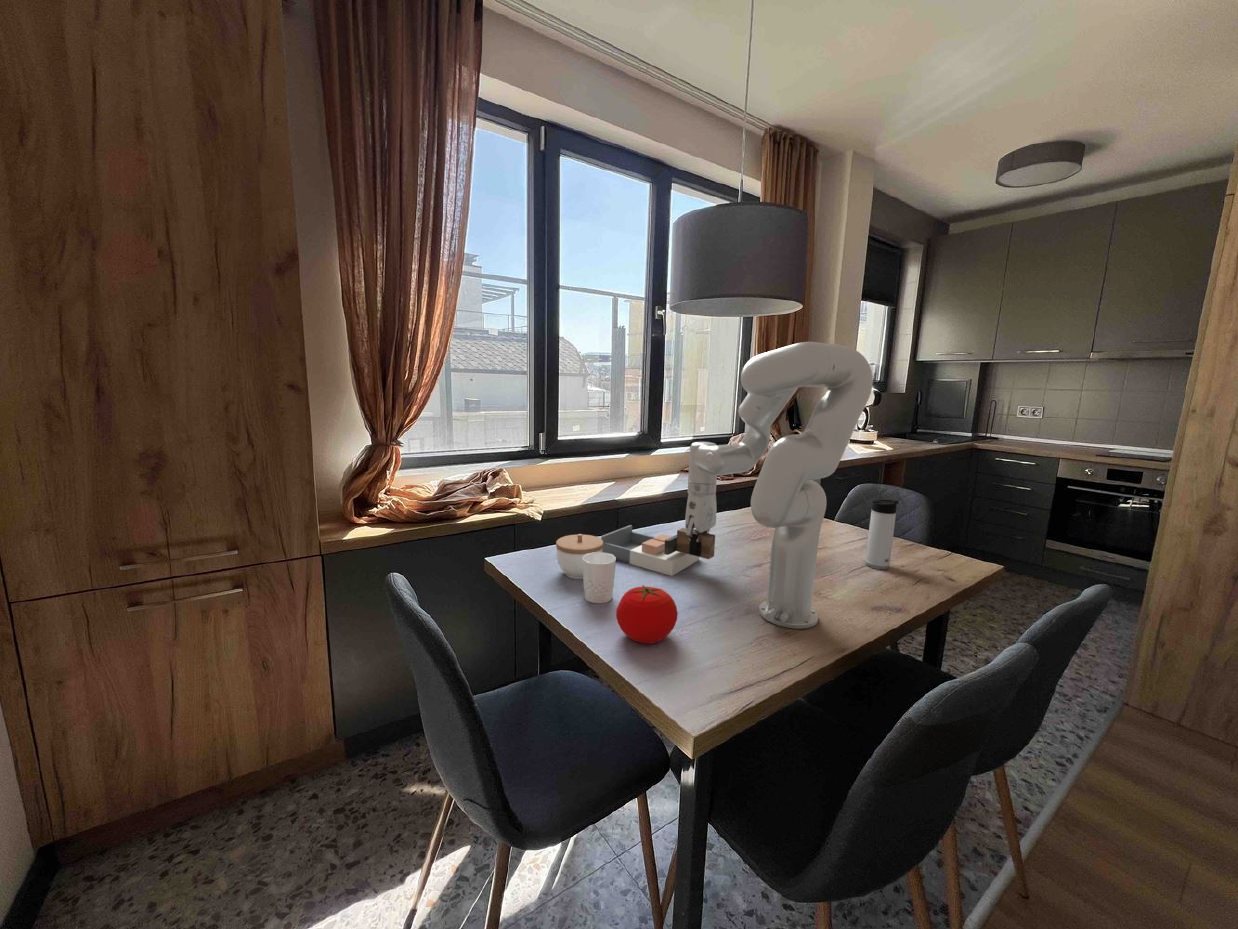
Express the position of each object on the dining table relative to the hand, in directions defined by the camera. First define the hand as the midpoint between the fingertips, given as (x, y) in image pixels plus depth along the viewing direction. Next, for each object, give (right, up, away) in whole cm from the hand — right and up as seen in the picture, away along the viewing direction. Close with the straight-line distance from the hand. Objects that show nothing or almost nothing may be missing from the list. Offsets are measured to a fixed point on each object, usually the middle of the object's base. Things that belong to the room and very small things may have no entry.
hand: (698, 552), depth 133 cm
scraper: (-1, 0, +1) cm, 1 cm away
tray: (-19, -3, +15) cm, 24 cm away
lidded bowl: (-33, -5, -3) cm, 33 cm away
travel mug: (+54, -6, +9) cm, 56 cm away
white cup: (-27, -8, -17) cm, 32 cm away
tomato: (-16, -11, -34) cm, 39 cm away
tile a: (-12, 0, +5) cm, 13 cm away
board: (-8, -4, +8) cm, 12 cm away
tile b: (-8, 0, +10) cm, 13 cm away
